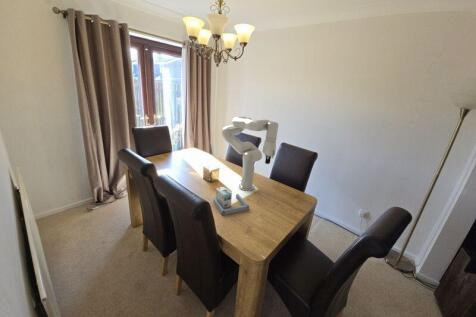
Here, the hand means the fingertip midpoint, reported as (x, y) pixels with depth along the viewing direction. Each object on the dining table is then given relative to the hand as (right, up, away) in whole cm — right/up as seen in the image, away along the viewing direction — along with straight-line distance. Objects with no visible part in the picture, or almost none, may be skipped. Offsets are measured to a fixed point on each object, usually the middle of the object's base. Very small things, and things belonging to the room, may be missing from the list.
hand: (267, 163), depth 150 cm
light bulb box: (-32, -29, -7) cm, 44 cm away
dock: (-27, -29, -8) cm, 41 cm away
